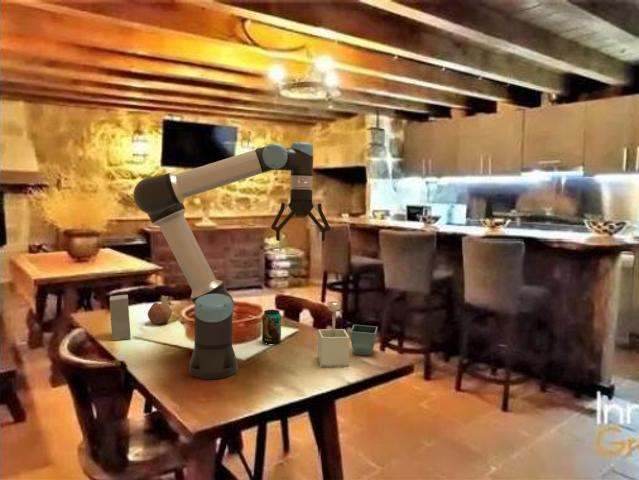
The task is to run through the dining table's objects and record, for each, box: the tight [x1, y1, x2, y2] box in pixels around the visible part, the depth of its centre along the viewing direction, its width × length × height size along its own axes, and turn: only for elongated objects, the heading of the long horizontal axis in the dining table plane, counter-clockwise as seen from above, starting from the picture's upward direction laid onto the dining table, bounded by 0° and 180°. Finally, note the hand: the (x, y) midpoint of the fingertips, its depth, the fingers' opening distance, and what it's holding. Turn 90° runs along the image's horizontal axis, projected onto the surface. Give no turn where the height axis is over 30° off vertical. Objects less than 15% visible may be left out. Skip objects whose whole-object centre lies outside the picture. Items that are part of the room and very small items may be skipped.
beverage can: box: [261, 309, 282, 345], centre depth 180 cm, size 7×7×12 cm
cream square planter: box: [316, 328, 351, 368], centre depth 161 cm, size 9×9×10 cm
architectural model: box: [161, 295, 176, 307], centre depth 222 cm, size 3×7×7 cm, turn 43°
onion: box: [147, 302, 172, 326], centre depth 201 cm, size 10×9×10 cm
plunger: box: [327, 300, 341, 337], centre depth 160 cm, size 7×7×18 cm
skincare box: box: [109, 294, 131, 341], centre depth 181 cm, size 8×7×16 cm
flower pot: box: [350, 324, 379, 356], centre depth 171 cm, size 9×9×9 cm
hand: (300, 250), depth 165 cm, fingers open, 13 cm apart
